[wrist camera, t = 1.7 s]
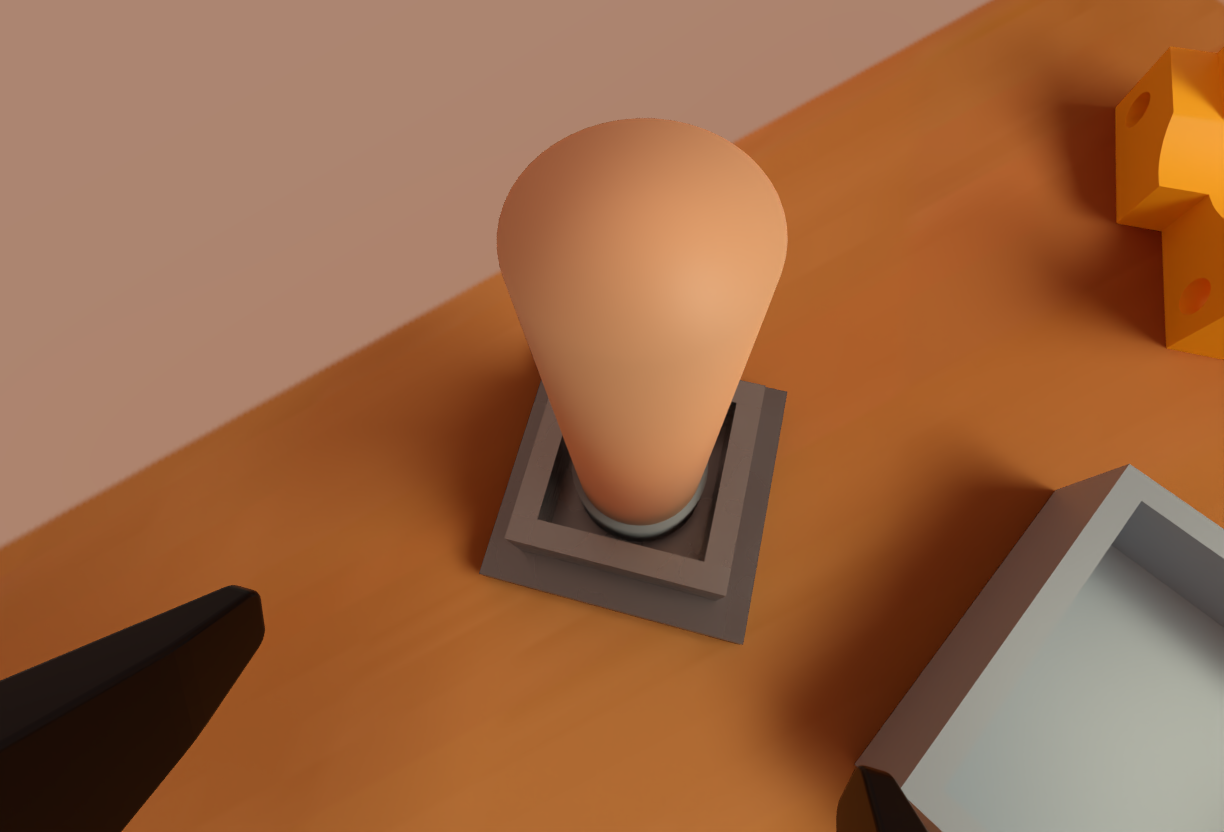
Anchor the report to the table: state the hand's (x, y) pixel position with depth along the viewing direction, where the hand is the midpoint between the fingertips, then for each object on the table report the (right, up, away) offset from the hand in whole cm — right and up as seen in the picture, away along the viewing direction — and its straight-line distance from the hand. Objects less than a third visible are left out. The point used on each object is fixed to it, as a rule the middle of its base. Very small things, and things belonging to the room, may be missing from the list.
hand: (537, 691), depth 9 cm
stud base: (+2, +1, +14) cm, 14 cm away
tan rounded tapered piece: (+2, +2, +13) cm, 13 cm away
